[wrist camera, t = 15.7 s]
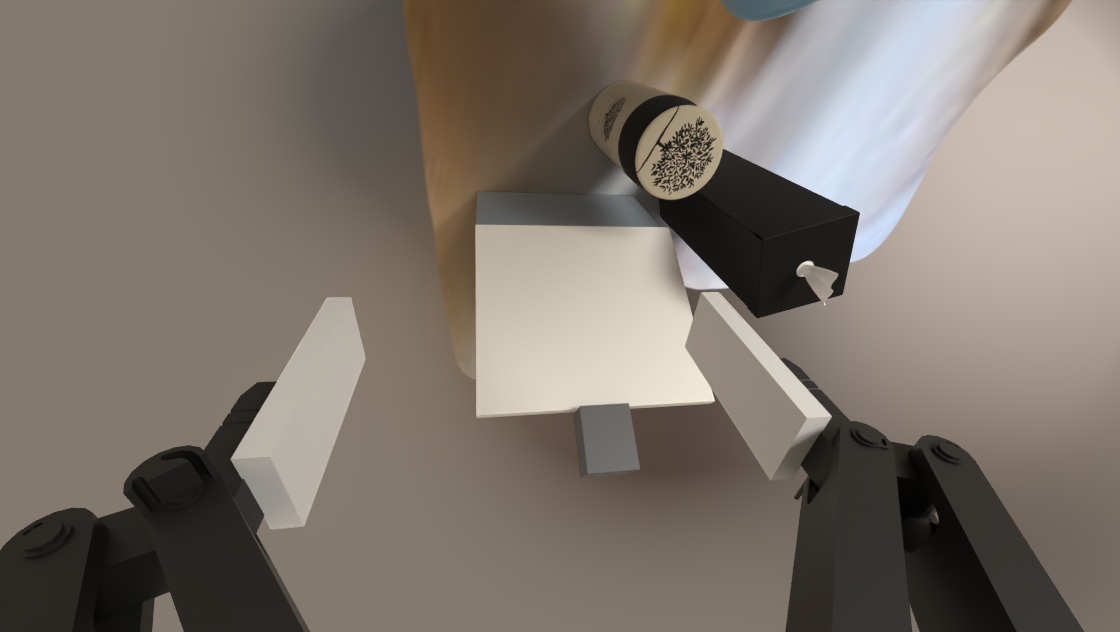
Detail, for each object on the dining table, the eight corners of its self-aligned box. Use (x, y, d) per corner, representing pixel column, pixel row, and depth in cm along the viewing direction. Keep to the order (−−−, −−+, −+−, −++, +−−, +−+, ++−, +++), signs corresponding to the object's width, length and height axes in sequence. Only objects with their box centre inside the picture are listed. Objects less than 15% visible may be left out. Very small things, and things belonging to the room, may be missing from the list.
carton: (477, 191, 51) (475, 228, 41) (632, 195, 54) (665, 231, 44) (481, 312, 61) (481, 366, 51) (612, 310, 64) (635, 359, 54)
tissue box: (659, 217, 57) (778, 341, 34) (654, 159, 52) (787, 258, 29) (715, 202, 57) (871, 315, 34) (714, 143, 52) (895, 228, 29)
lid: (476, 236, 42) (474, 217, 39) (662, 238, 45) (673, 220, 42) (477, 487, 31) (476, 483, 29) (719, 465, 35) (737, 460, 32)
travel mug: (667, 111, 49) (745, 145, 34) (622, 167, 52) (677, 220, 37) (619, 64, 46) (684, 78, 31) (574, 126, 48) (614, 167, 34)
